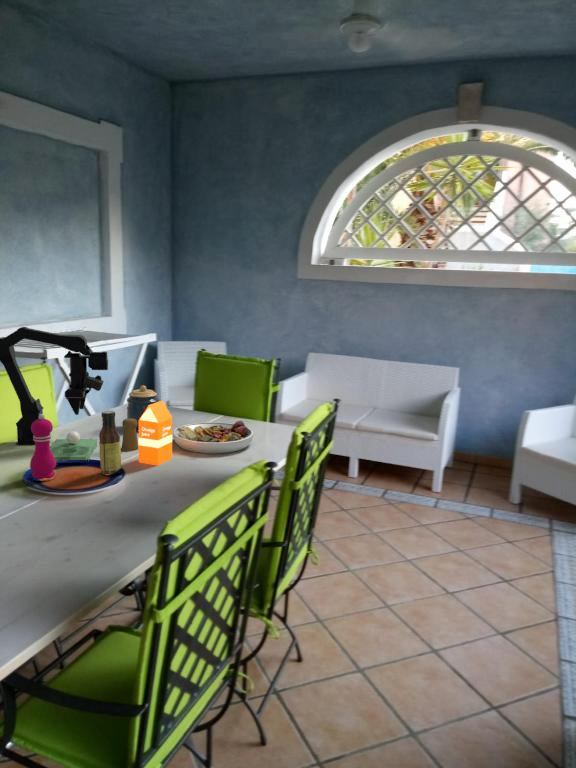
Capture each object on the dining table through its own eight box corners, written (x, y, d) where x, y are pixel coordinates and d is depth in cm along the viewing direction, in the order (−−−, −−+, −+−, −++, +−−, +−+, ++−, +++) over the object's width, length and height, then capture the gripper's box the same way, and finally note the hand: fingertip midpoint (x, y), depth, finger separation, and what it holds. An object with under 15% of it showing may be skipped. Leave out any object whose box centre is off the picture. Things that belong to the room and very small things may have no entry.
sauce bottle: (125, 471, 182) (124, 411, 178) (113, 477, 176) (112, 415, 172) (107, 468, 184) (107, 408, 180) (95, 474, 178) (94, 412, 174)
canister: (134, 422, 243) (134, 381, 240) (163, 424, 241) (163, 383, 238) (121, 430, 230) (121, 387, 227) (152, 432, 229) (152, 389, 226)
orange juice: (138, 462, 192) (138, 404, 188) (153, 455, 200) (153, 399, 196) (158, 465, 189) (158, 406, 186) (172, 458, 197) (172, 401, 194)
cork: (133, 451, 203) (133, 421, 201) (118, 450, 204) (117, 420, 202) (141, 447, 209) (141, 417, 207) (126, 445, 210) (126, 416, 208)
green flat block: (56, 445, 206) (56, 439, 205) (97, 445, 208) (97, 439, 208) (41, 464, 185) (41, 456, 185) (86, 464, 188) (86, 456, 187)
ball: (65, 445, 198) (64, 433, 197) (68, 442, 202) (67, 429, 202) (78, 445, 199) (78, 433, 198) (81, 442, 203) (81, 429, 202)
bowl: (201, 461, 196) (201, 439, 195) (158, 441, 218) (158, 421, 217) (268, 447, 216) (269, 427, 215) (223, 430, 238) (223, 412, 237)
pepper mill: (31, 483, 168) (28, 417, 165) (29, 476, 174) (27, 412, 171) (57, 480, 171) (55, 415, 168) (55, 473, 178) (53, 410, 174)
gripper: (97, 374, 200) (97, 418, 203) (105, 366, 218) (105, 406, 221) (63, 374, 198) (64, 417, 201) (74, 366, 216) (75, 406, 219)
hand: (79, 411), depth 210 cm, fingers open, 9 cm apart
